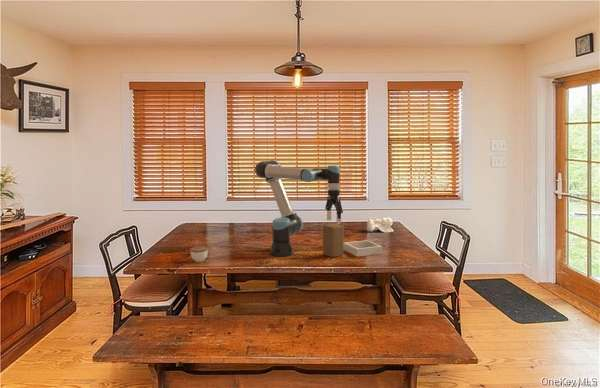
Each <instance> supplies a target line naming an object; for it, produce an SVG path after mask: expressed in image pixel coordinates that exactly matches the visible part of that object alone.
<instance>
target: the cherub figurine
mask: <svg viewBox="0 0 600 388" xmlns="http://www.w3.org/2000/svg"><path fill="white" fill-rule="evenodd" d="M393 223H394V221H393V219H392V218H391V217H382V218H381V219H380V218H375V219H374V220H373V219H371V218H368V219H367V226H368V229H369V232H370V233H372V232H374V230H376V229H378V230H379V231H380V232H381V233H382V232H383V233H389V234H390V233H393V232H395V231H394V229H393V228H392V226H393Z"/></svg>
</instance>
